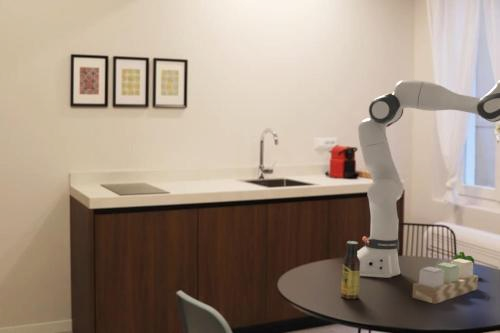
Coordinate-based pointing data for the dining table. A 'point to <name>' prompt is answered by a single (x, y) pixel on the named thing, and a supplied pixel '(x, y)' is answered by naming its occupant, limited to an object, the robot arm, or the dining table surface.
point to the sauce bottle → (350, 272)
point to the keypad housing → (445, 290)
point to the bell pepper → (464, 257)
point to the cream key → (464, 267)
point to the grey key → (431, 277)
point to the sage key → (449, 272)
